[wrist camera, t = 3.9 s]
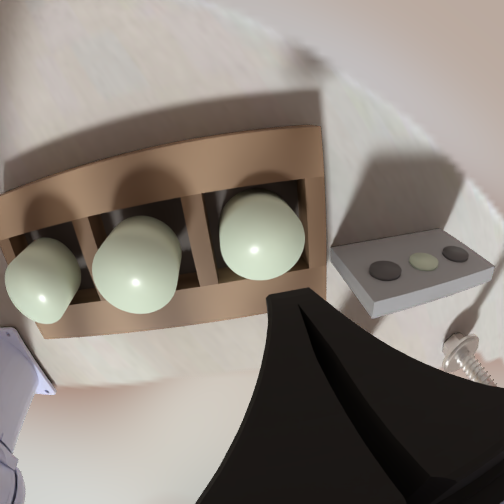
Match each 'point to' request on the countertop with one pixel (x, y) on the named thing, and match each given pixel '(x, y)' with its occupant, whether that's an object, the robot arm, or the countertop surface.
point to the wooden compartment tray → (175, 222)
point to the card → (409, 270)
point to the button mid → (138, 265)
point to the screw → (464, 358)
